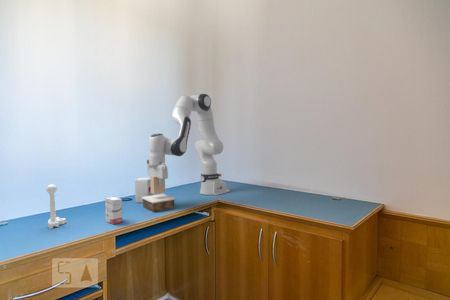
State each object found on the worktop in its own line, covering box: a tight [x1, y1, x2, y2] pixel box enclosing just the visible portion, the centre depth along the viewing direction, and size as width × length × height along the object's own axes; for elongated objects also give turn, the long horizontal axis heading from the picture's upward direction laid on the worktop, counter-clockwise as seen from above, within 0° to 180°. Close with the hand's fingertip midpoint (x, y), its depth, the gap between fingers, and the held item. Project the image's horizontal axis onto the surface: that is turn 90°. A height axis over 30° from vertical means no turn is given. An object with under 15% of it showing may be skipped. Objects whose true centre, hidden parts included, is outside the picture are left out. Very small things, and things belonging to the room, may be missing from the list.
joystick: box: [45, 184, 67, 230], centre depth 142 cm, size 11×8×20 cm
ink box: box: [104, 196, 123, 225], centre depth 146 cm, size 9×5×12 cm, turn 48°
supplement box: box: [134, 177, 155, 204], centre depth 187 cm, size 9×9×15 cm
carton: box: [149, 176, 166, 195], centre depth 171 cm, size 7×4×10 cm, turn 128°
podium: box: [142, 193, 176, 213], centre depth 172 cm, size 14×16×6 cm
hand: (157, 184), depth 171 cm, fingers closed on carton, 4 cm apart
